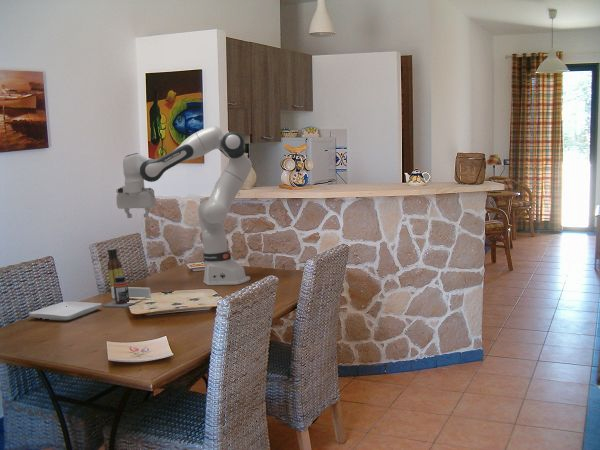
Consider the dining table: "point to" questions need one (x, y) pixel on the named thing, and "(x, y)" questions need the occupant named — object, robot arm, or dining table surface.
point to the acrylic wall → (135, 292)
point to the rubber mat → (117, 305)
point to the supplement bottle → (121, 290)
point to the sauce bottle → (114, 266)
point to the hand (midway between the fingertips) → (137, 217)
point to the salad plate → (65, 310)
